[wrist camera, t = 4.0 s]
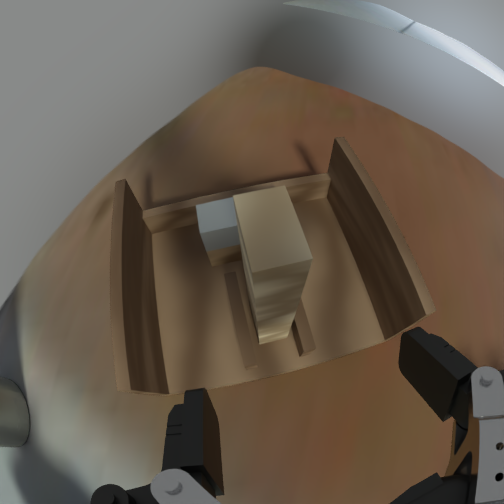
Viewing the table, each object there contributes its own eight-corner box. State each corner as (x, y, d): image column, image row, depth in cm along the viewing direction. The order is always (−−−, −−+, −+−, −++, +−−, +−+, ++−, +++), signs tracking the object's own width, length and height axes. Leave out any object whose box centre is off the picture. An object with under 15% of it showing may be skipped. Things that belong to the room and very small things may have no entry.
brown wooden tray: (163, 395, 23) (117, 390, 15) (147, 234, 32) (115, 181, 24) (388, 339, 25) (436, 310, 17) (329, 196, 34) (343, 136, 25)
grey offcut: (206, 251, 26) (199, 233, 23) (202, 224, 27) (195, 205, 24) (293, 232, 26) (295, 213, 24) (283, 207, 28) (285, 186, 25)
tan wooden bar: (259, 344, 24) (252, 272, 11) (249, 302, 26) (232, 195, 13) (287, 337, 25) (312, 258, 11) (275, 296, 26) (284, 185, 13)
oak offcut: (212, 266, 28) (206, 251, 26) (207, 241, 30) (202, 224, 27) (290, 249, 29) (293, 232, 26) (282, 224, 30) (283, 207, 28)
